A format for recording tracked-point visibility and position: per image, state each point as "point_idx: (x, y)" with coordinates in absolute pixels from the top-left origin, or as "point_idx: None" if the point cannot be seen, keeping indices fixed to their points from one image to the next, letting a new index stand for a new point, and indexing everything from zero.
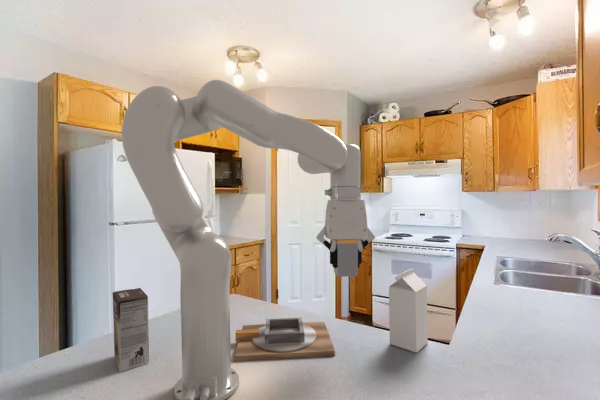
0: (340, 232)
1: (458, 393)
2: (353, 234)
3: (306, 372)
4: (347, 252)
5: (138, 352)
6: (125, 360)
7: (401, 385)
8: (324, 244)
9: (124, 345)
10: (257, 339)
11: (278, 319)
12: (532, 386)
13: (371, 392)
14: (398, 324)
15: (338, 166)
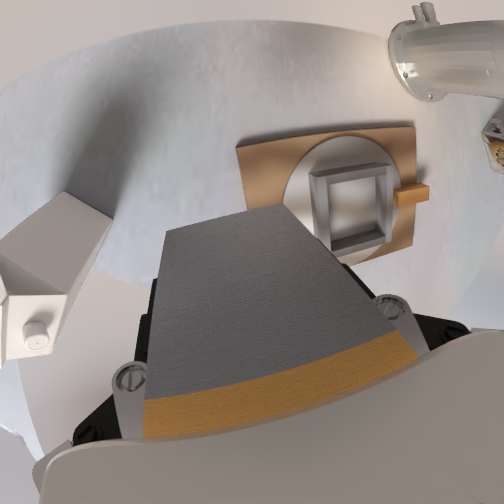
0: (451, 447)
1: (29, 73)
2: (212, 502)
3: (291, 81)
4: (254, 299)
5: (498, 130)
6: (499, 121)
7: (108, 63)
8: (455, 324)
9: None
10: (393, 180)
11: (370, 243)
12: None
13: (166, 31)
14: (78, 227)
15: None
